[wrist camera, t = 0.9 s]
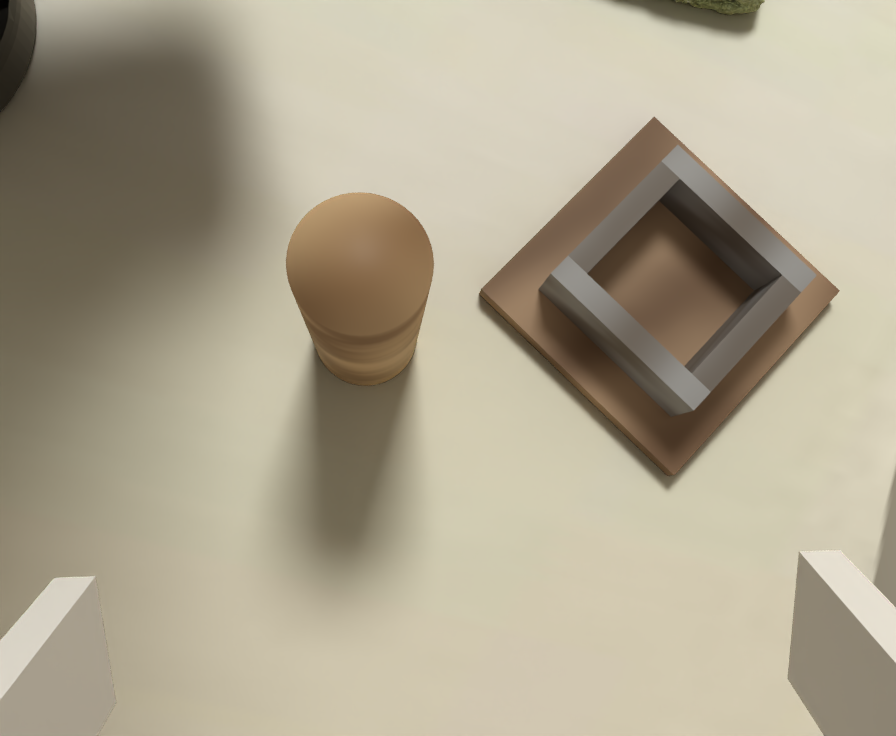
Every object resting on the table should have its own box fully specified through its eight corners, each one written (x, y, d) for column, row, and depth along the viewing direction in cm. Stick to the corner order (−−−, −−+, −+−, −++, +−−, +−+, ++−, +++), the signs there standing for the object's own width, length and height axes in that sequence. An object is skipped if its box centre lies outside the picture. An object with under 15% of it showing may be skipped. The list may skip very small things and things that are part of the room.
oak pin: (293, 335, 41) (255, 262, 28) (365, 265, 42) (360, 164, 29) (366, 406, 41) (360, 365, 28) (437, 335, 42) (463, 263, 29)
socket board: (479, 293, 42) (489, 272, 38) (647, 125, 44) (674, 88, 40) (667, 475, 41) (697, 473, 38) (829, 295, 44) (874, 275, 40)
